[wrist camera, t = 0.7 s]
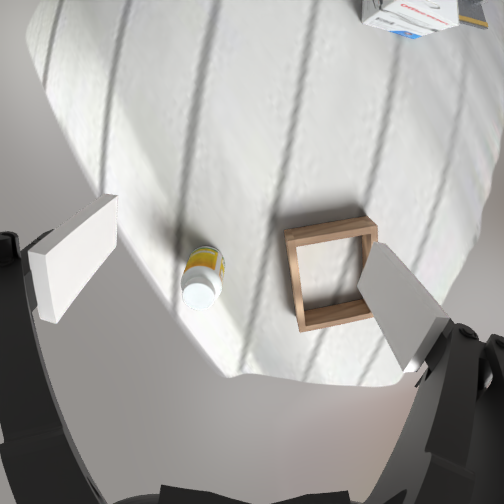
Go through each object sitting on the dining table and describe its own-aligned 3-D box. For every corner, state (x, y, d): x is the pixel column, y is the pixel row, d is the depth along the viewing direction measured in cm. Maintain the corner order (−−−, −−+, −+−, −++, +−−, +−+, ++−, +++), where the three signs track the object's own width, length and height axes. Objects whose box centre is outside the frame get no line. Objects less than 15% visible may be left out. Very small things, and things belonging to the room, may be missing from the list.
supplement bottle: (232, 264, 46) (229, 301, 37) (205, 283, 47) (197, 322, 38) (208, 237, 44) (200, 270, 35) (181, 258, 45) (167, 293, 36)
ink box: (414, 13, 29) (458, -6, 19) (414, 40, 31) (461, 27, 21) (361, -5, 29) (396, -34, 18) (360, 23, 31) (398, -1, 20)
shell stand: (283, 230, 44) (287, 241, 40) (367, 215, 43) (377, 225, 39) (296, 317, 50) (299, 332, 47) (367, 302, 49) (375, 316, 46)
